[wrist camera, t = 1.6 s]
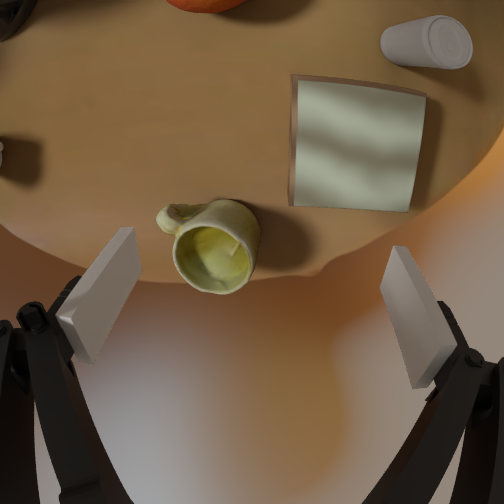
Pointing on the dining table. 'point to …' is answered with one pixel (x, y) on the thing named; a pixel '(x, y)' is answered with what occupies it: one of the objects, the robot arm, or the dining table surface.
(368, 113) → the podium
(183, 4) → the fruit
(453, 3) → the dining table surface
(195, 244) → the mug
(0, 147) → the mug
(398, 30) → the beverage can
